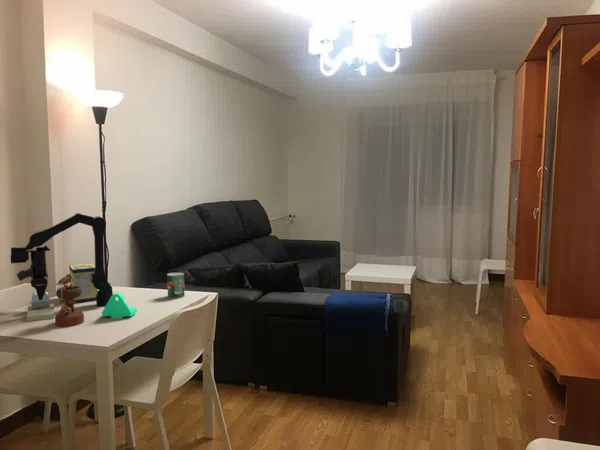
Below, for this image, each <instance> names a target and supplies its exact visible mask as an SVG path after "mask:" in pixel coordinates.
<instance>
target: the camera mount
mask: <svg viewBox="0 0 600 450" xmlns="http://www.w3.org/2000/svg"><path fill="white" fill-rule="evenodd" d="M124 295H125V294H123V293H122V292H120V291H119V292H115V293H113V295H112V296H111V298H110V299H109V301H108V303H107V305H106V306H104V309H103V310H102V311H101V317H110V319H123V318H125V317H132V316H133V315H136V313H137V312H138V310H137V309H138V308H137V307H130V306H129V305H128V303H127V301H126V300H125V296H124Z"/></svg>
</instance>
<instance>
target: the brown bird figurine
mask: <svg viewBox="0 0 600 450" xmlns="http://www.w3.org/2000/svg"><path fill="white" fill-rule="evenodd" d="M71 279H72V275H71V274H70V273H67V274H66V275H65V276H64V277H62V278H60V279H59V280H58V282H57V283H55V285H58V286H61V287H59V288H57V290H56V291H55V296H56V297H57V298H58V299H60V300H59V304H60V305H62V306H61V308H60V310H59V313H57V314H55V315H54V322H55V326H56V327H59V328H60V327H61V328H62V327H64V328H65V327H66V328H68V327H75V326H79V325H82V324H83V323H84V322H85V313H84V312H82V311H81V310H75V304H77V303H76V301H75V300H74V298H77V297H79V296H80V295H81V293H82V290H81V288H80V287H79V286H73V285H72V284H70V282H71ZM64 303H65V304H64ZM63 304H64V305H63ZM70 309H71V310H70Z"/></svg>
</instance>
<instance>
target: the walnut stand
mask: <svg viewBox="0 0 600 450" xmlns="http://www.w3.org/2000/svg"><path fill="white" fill-rule="evenodd" d="M53 308H54V309H55V304H54V303H50V307H47V308H38V309H32V305H28V306H27V311H34V310H44V309H53Z"/></svg>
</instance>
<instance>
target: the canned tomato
mask: <svg viewBox="0 0 600 450" xmlns="http://www.w3.org/2000/svg"><path fill="white" fill-rule="evenodd" d="M166 276H167V278H166V280H167V298H169V299H181V298H184V297H185V295H186V294H185V273H184V272H181V271H180V272H169V273H167V274H166Z"/></svg>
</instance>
